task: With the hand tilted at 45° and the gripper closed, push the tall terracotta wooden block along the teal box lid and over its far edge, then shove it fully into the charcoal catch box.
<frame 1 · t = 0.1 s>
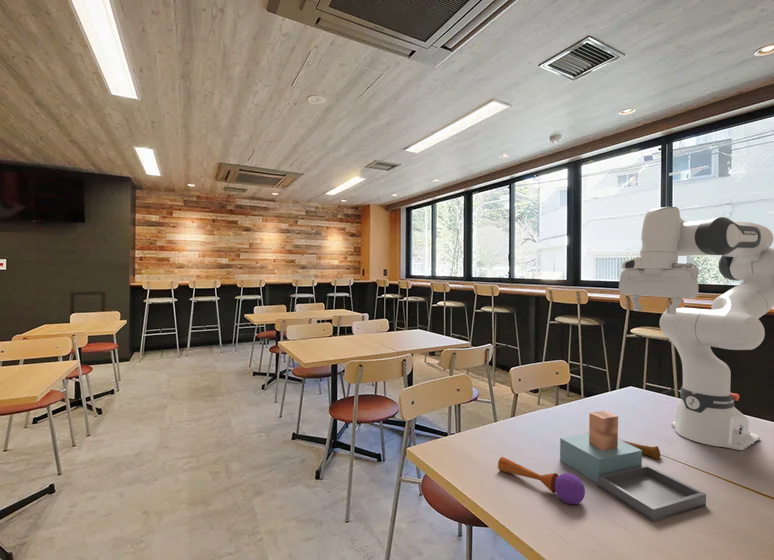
hand: (653, 312, 106), 39 cm above the table, tool pointing down, fingers open, 8 cm apart
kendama: (538, 488, 87), on the table
terracotta block: (603, 445, 95), point 6 cm above the table, touching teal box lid
catch box: (649, 495, 84), on the table
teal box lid: (599, 467, 96), on the table
primitive tool: (617, 448, 108), on the table
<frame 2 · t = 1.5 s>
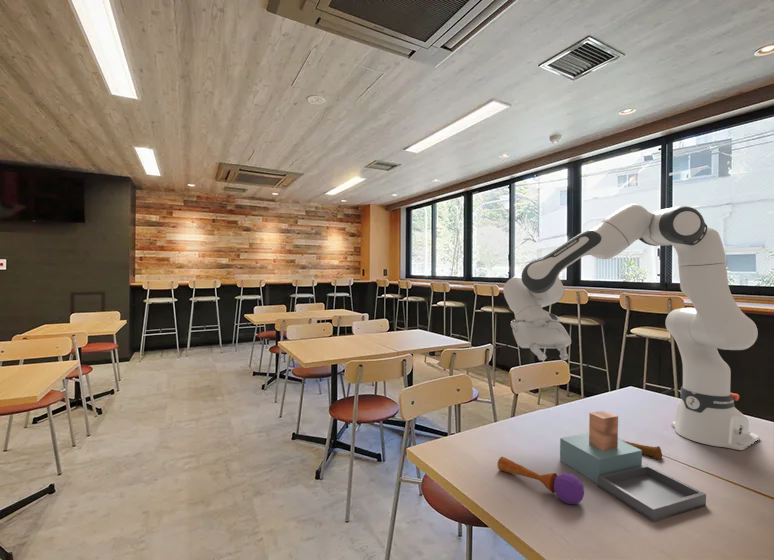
hand: (554, 359, 111), 24 cm above the table, tool tilted 40°, fingers open, 8 cm apart
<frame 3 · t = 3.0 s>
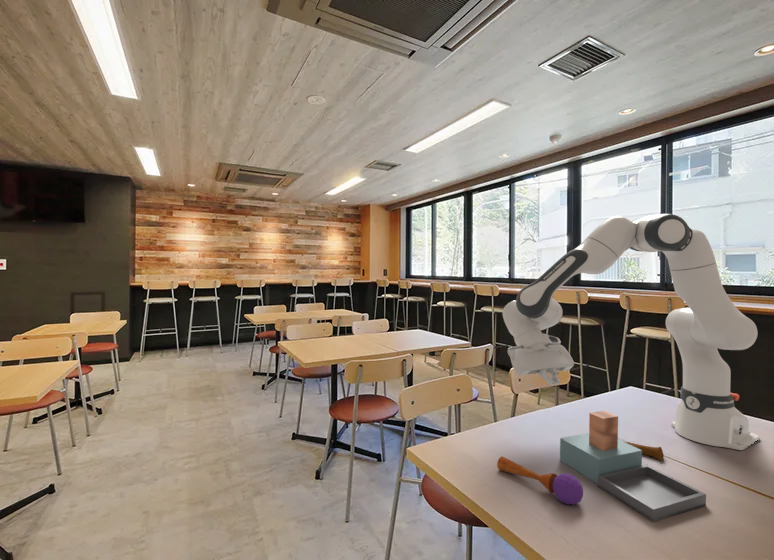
hand: (555, 384, 110), 17 cm above the table, tool tilted 45°, fingers closed
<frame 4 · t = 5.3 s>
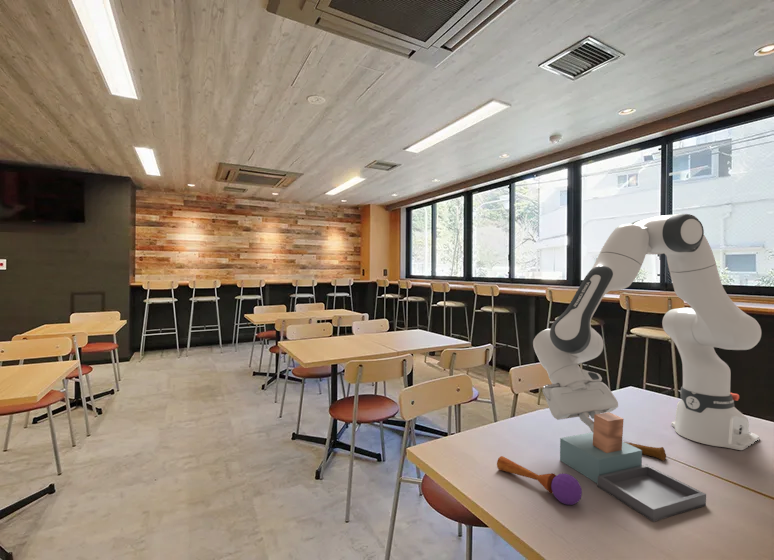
hand: (598, 430, 96), 9 cm above the table, tool tilted 45°, fingers closed, pressing on terracotta block
terracotta block: (606, 447, 94), point 6 cm above the table, touching gripper
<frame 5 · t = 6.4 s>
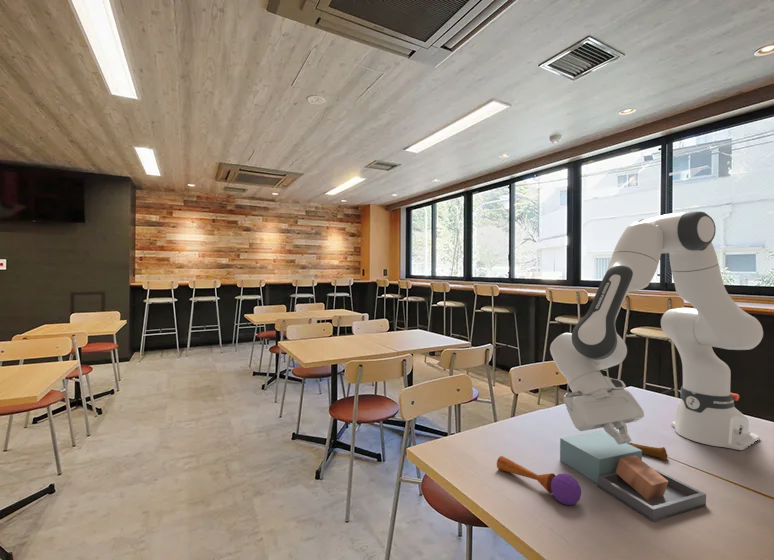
hand: (625, 442, 89), 9 cm above the table, tool tilted 45°, fingers closed
terracotta block: (625, 463, 89), point 5 cm above the table, tilted 105°, touching catch box
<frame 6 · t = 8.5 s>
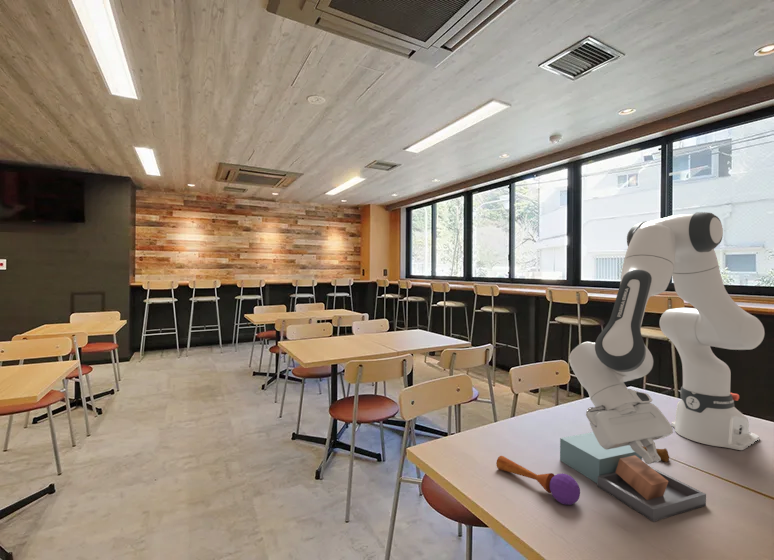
hand: (654, 462, 83), 8 cm above the table, tool tilted 45°, fingers closed
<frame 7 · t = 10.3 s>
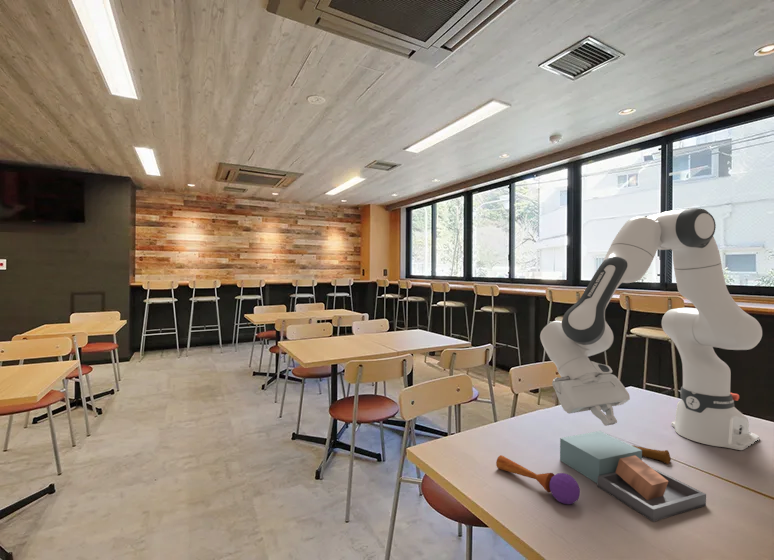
hand: (611, 424, 93), 12 cm above the table, tool tilted 45°, fingers closed
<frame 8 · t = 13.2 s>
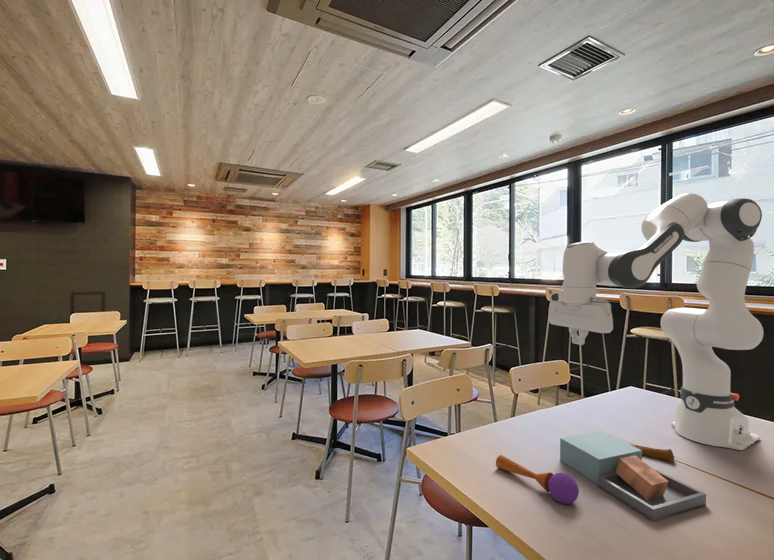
hand: (578, 343, 110), 29 cm above the table, tool pointing down, fingers closed
at the end: terracotta block inside the target area (6.6 cm from its centre), point 4.5 cm above the table; the gripper is holding nothing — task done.
